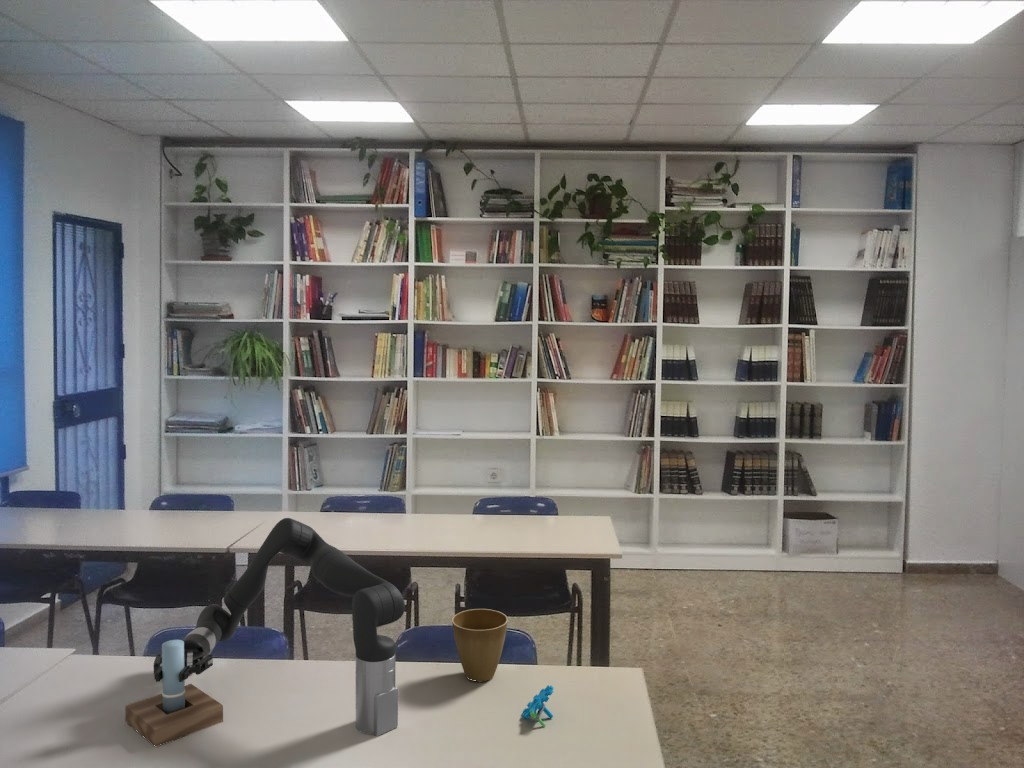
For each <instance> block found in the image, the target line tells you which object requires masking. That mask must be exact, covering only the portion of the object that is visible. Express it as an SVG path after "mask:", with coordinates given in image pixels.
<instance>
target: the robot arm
mask: <svg viewBox="0 0 1024 768" xmlns="http://www.w3.org/2000/svg"><path fill="white" fill-rule="evenodd" d="M280 553H282V554H283V555H286V556H289V557H290V558H293V559H296V560H299V561H302V562H304V563H305V564H306V565H308V566H310V570H311V574H312V575H313V578H314V579H315V580H316V581H317V582H319V583H320V584H321V585H323V587H325V589H328V590H329V591H331V592H333V593H335V594H338V595H341V596H342V595H343V596H346V597H350V598H351V597H352V601H351V615H352V618H351V619H352V638H353V644H354V648H355V728H356V730H357V731H358V732H360V733H362V734H367V735H373V736H374V735H375V736H377V737H378V736H380V735H383V734H384V733H387V732H389V731H392V730H393V729H396V728H397V726H399V723H398V721H399V716H398V715H399V713H398V712H399V688H398V687H397V686H396V657H397V656H396V653H397V652H396V646H397V645H396V642H395V640H394V639H392V638H391V637H390V636H386V635H382V634H378V627H379V628H380V627H382V626H386V625H390V624H393V623H395V622H397V621H398V620H400V619H401V618H402V617H403V615H404V613H405V609H406V608H405V607H406V604H405V600H404V597H403V595H402V593H401V592H400V590H399V589H398V588H397V586H395V585H394V584H392V583H391V582H389V581H388V580H386V579H384V578H382V577H379V576H378V575H376V574H374V573H372V572H371V571H370V570H368V569H367V568H365V567H364V566H361V564H358V562H356V561H354V559H352V558H351V557H350V556H348V555H347V554H346V553H345V552H343V551H341V550H340V549H339V548H338V547H337V548H336V547H335V546H333V545H331V544H329V543H327V542H326V541H325V540H324V539H323V538H322V537H321V535H320V534H318V532H316V530H314V529H313V528H312V527H311V526H309V525H307V524H306V523H303V522H301V521H298V520H296V519H293V518H290V517H284V518H282V519H281V520H279V521H278V522H277V523H276V524H275V525H274V526H273V527H272V529H271V531H270V532H269V533H268V535H267V537H266V538H265V539H264V541H263V543H262V544H261V546H260V547H259V549H258V551H257V552H256V554H255V556H253V558H252V560H251V562H250V564H249V565H248V567H247V568H246V570H245V571H244V572H243V573H242V575H240V577H239V578H238V579H237V580H236V582H235V583H234V584H233V585H232V586H231V588H230V589H229V590H228V591H227V592H226V593H225V595H224V596H223V603H224V604H225V606H226V608H227V609H228V611H227V610H225V609H224V608H223V607H222V606H220V604H216V603H211V604H209V605H207V606H205V607H204V608H203V609H202V610H201V612H200V613H199V615H198V618H197V621H196V626H195V628H194V629H192V630H191V631H190V632H188V633H187V634H186V636H185V637H184V638H183V639H181V640H182V641H184V668H183V669H182V670H181V672H180V673H179V682H183V681H184V680H185V681H186V680H187V679H188V678H189V677H190V676H193V674H195V675H196V676H198V675H202V673H204V672H205V671H207V670H208V669H209V668H211V667H212V666H213V665H214V664H213V662H214V661H213V660H214V657H213V654H211V653H212V652H213V650H214V649H215V647H216V645H218V644H219V642H226V641H229V640H230V639H231V638H232V637H233V636H234V634H235V633H236V631H237V629H238V627H239V624H240V622H241V619H242V618H243V615H244V614H245V613H246V611H247V610H248V608H249V607H250V606H251V605H252V604H253V603H254V602H255V600H257V598H258V597H259V596H260V595H261V593H262V591H263V590H264V588H265V583H266V580H267V573H268V569H269V565H270V564H271V561H272V560H273V559H274V558H275V557H276V556H277V555H278V554H280ZM229 612H230V613H229ZM153 675H154V680H155V682H156V683H157V682H160V681H162V653H157V654H156V655H155V659H154V662H153Z"/></svg>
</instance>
